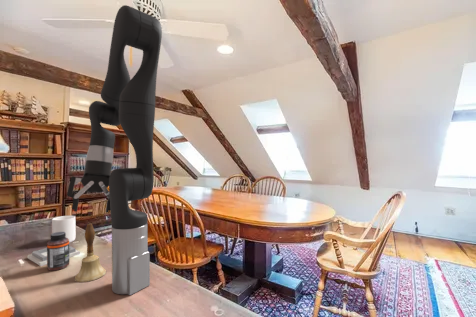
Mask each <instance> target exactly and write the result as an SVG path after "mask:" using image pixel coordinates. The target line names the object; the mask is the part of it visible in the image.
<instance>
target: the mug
mask: <svg viewBox="0 0 476 317" xmlns="http://www.w3.org/2000/svg"><path fill="white" fill-rule="evenodd" d="M76 224H77V223H76V215H62V216H55V217H53V218H52V219H51V234H52V233H56V232H65V233H66V236H65V237H66V238H68V239H69V243H72V242H74V241H75V240H76V236H77V235H76V231H77V230H76V227H77V226H76Z"/></svg>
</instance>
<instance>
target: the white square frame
mask: <svg viewBox="0 0 476 317" xmlns="http://www.w3.org/2000/svg"><path fill="white" fill-rule="evenodd" d="M80 252H81V251H80V250H78V249H76V248H75V247H73V246H71V245H69V258H72V257H74V256H78V255H80ZM27 259H28V260H30V261H32V263H34V264H37V265H38V266H40V267H43V266H47V247H45V248H40V249H39V250H34V251H32V252H31V254H28V255H27Z"/></svg>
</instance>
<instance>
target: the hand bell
mask: <svg viewBox="0 0 476 317" xmlns="http://www.w3.org/2000/svg"><path fill="white" fill-rule="evenodd" d="M95 232H96V231H95V229H94V226H93V223H91V222H90V223H87V224H86V228H85V230H84V238H85V243H86V256H85V257H83V258H82V260H81V263H80V264H81V266H80V269H79V271H78V273H77V274H76V275H75V276H74V281H75V282H78V283H86V282H93V281H96V280H98V279H101V278H102V277H104V276H105V274H106V273H107V270H106V269H105V268H104V267H103V266H102V264H101V262H100V257H99V256H98V255H96V254H94V253H95V252H94V242H95V236H96V235H95Z"/></svg>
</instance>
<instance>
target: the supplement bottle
mask: <svg viewBox="0 0 476 317" xmlns="http://www.w3.org/2000/svg"><path fill="white" fill-rule="evenodd" d="M65 236H66V233H65V232H56V233H52V232H51V234H50V240H48V242H46V248H47V264H46V266H47V270H48V271H52V272H53V271H59V270H63V269H65V268H67V267H68V266H69V265H70V257H69V246H70V242H69V239H68V238H66V237H65Z"/></svg>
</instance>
